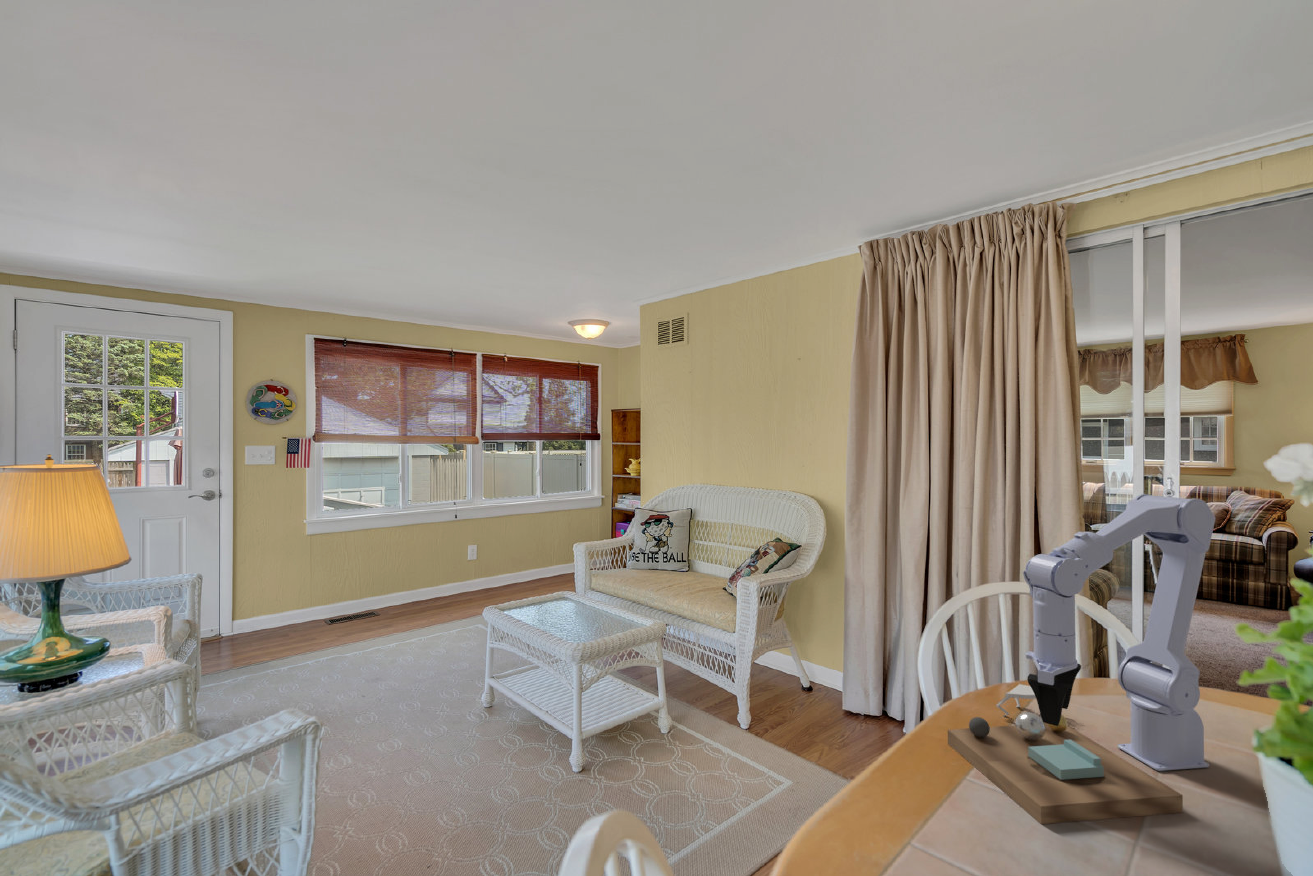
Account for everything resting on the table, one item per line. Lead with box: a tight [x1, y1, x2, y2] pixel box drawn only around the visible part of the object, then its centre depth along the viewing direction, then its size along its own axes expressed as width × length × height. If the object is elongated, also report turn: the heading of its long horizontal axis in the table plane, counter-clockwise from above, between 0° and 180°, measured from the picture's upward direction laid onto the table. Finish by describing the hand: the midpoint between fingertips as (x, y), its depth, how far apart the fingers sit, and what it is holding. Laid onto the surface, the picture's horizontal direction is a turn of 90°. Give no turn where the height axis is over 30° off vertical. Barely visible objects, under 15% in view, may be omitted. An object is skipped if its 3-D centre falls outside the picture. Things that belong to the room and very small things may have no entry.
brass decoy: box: [1047, 714, 1069, 732], centre depth 109 cm, size 3×3×3 cm
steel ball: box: [1015, 711, 1045, 741], centre depth 107 cm, size 4×4×4 cm
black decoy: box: [968, 716, 991, 737], centre depth 108 cm, size 3×3×3 cm
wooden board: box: [947, 723, 1184, 825], centre depth 100 cm, size 22×23×2 cm
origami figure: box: [995, 683, 1042, 719], centre depth 122 cm, size 12×8×5 cm
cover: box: [1028, 739, 1104, 780], centre depth 98 cm, size 7×7×2 cm
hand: (1055, 715), depth 100 cm, fingers open, 7 cm apart
